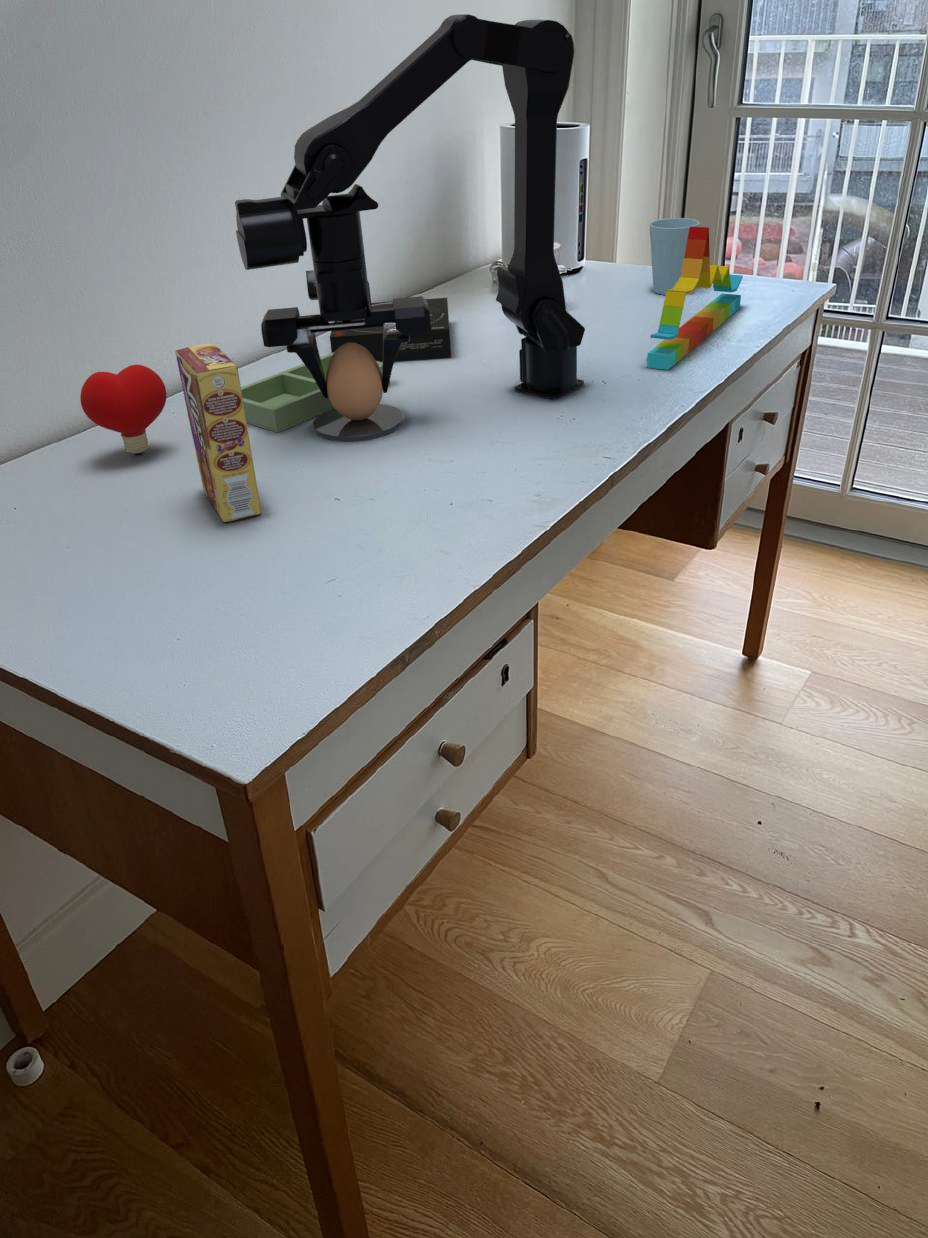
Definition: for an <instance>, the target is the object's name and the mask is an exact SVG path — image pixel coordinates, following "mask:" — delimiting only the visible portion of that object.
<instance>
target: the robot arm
mask: <svg viewBox="0 0 928 1238" xmlns="http://www.w3.org/2000/svg"><path fill="white" fill-rule="evenodd" d="M574 59H575V42H574V38H573V35H572V34H571V33H570V32H569V31H568V29H567V28H566V27H565V25H563V24H562V23H560V22H559V21H557V20H551V19H524V20H520V21H517V22H516V23H515V24H512V23H506V22H505V23H504V22H499V21H494V20H487V19H482V18H478V17H477V16H476V15H473V14H469V13H468V14H465V13H464V14H453V15H449V16H448V17H446V18H445V19H444V20H443V21H442V22H441V24H440V26H439V27H438V28H437V29H436V30H435V31H434V32H433V33H432V34H431V35H430V36H428V37H427V39H425V40H424V41H423V42H422V43H421V44H420V45H419V46H418V47H416V48H415V50H413V51H412V52H411V53H410V54H409V55H408V56H406V58H405V59H403V60H402V61H401V62H400V63H399V64H398V65H396V67H394V68H393V69H392V70H391V71H390V72H389V73H388V74H387V75H386V76H385V77H383V78H382V80H380V81H379V82H378V83H376V85H375V86H374V87H373V88H371V89H370V90H369V91H368V92H367V93H366V94H365V95H363V97H361V98H360V99H359V100H358V101H356V102H355V103H353V104H351V105H350V106H348V107H345V108H344V109H341V110H339V111H338V112H336V113H334V114H331V115H330V116H328V117H326V118H325V119H323V120H321V121H320V122H318V123H317V124H315V125H313V126H311V127H310V128H308V129H307V130H305V131H304V132H303V133H301V134H300V136H299V137H298V139H297V140H296V142H295V145H294V152H293V160H294V166H293V168H292V170H291V172H290V174H289V176H288V178H287V180H286V182H285V184H284V187H283V188H282V190H281V192H280V196H277V197H268V198H261V199H249V198H244V199H237V200H235V201H234V207H235V211H236V214H235V218H236V220H235V221H236V229H237V230H235V235H236V239H237V245H238V249H239V255H240V258H241V261H242V265H243V267H244V269H245V271H250V270H256V269H257V270H259V269H264V268H270V267H271V268H273V267H277V266H284V265H293V264H298V263H299V262H300V257H304V256H305V253H306V252H307V251H308V241H307V233H308V238H309V245H310V246H309V247H310V252H311V253H310V254H311V260H312V267H313V269H312V270H306V271H305V276H306V277H305V278H306V287H307V296H308V299H309V300H310V301H318V308H319V309H318V310H319V314H318V313H317V314H308V315H300V314H301V313H300V310H299V307H298V306H293V307H285V308H284V307H283V308H272V309H271V308H270V309H268V310H267V311H266V312H265V314H264V315H263V318H262V321H261V323H260V328H261V336H262V342H263V343H262V344H263V347H265V348H278V347H286V352H287V353H290V354H291V353H293V354H294V353H295V354H296V355H297V357H299V359H300V360H301V362H302V364H305V366H306V367H307V368H308V370H309V371H310V373H311V375H312V376H313V378H314V380H315V382H316V383H317V385H318V387H319V389H320V391H321V392H322V394H323V396H324V398H328V393H327V386H326V378H325V374H324V370H323V367H322V363H321V359H320V357H321V356H320V352H319V347H318V343H317V338H316V333H322V332H323V333H324V332H331V331H336V330H347V329H359V328H370V327H381V326H383V363H382V384H383V394H388V390H389V386H390V385H389V381H390V382H391V376H392V372H393V367H394V363H395V362H396V361H395V358H396V356H397V353H398V351H399V348H400V345H401V344H402V343H406V342H409V341H410V336H409V335H413V334H424V333H428V332H431V324H430V313H429V307H428V302H427V300H425V299H426V298H425V297H424V296H422V295H421V296H420V295H419V296H409V297H408V296H407V297H398V298H392V301H393V304H394V308H386V309H375V310H371V303H372V296H371V289H370V282H369V280H368V272H367V264H366V255H365V246H364V236H363V229H362V219H361V212H366V211H372V210H377V209H378V208H379V202H378V201H376V200H375V199H373V198H372V197H371V196H369V194H368V193H367V192H366V190H365V189H364V188H363V186H362V185H359V184H358V183H355V182H356V181H357V180H358V178H359V177H360V175H362V173H363V172H364V171H365V169H366V168H367V167H368V166H369V164H370V163H371V162H372V160H373V158H374V156H375V155H376V152H377V151H378V149H379V147H380V145H381V144H382V142H383V141H384V140H385V139H386V138H387V136H388V135H389V134H390V133H391V132H392V131H393V130H395V128H397V127H398V126H399V124H401V123H403V121H404V120H406V119H407V117H409V116H410V115H411V114H412V113H413V112H414V111H415V110H416V109H418V107H420V106H421V105H422V104H423V103H424V102H425V101H426V100H428V99H429V98H430V97H431V96H432V95H433V94H435V93H436V91H438V90H439V89H440V88H441V87H442V86H443V85H444V84H445V83H447V81H448V80H450V79H451V78H452V77H453V76H454V75H455V74H457V73H458V72H459V71H460V70H461V69H462V68H463V67H464V66H465V65H467V63H469V62H470V61H476V62H480V63H485V64H489V65H496V66H500V67H501V69H502V74H503V81H504V87H505V90H506V91H505V92H506V95H507V96H508V99H509V102H510V105H511V106H510V107H511V109H512V112H513V116H514V117H513V118H514V207H513V208H514V211H513V212H514V215H513V216H514V217H513V219H514V221H513V222H514V225H513V227H514V232H513V233H514V235H513V236H514V240H513V241H514V242H513V247H514V248H513V253H512V256H511V258H510V261H509V263H508V266H497V268H496V275H497V276H496V277H497V282H498V283H497V284H498V289H497V294H496V297H495V301H496V302H498V303H499V304H500V306H501V310H502V313H503V315H504V316H505V317H506V318H507V319H508V320H509V321H510V322H511V323H512V324H514V326H515V327H516V330H517V333H518V334H519V335H522V336H524V337H522V338H521V339H520V345H521V348H520V349H519V351H518V353H519V355H518V356H519V357H518V359H519V381H520V382H521V383H519V384H517V385H515V386H514V391H516V392H519V393H525V394H529V395H532V396H536V397H537V396H538V397H541V398H546V399H551V400H558V399H559V398H562V397H563V396H565V395H567V394H569V393H571V392H573V391H575V390H577V389H579V388H581V387H583V386H584V385H585V380H583V379H579V378H578V347H579V346H581V344H582V342H583V338H584V335H585V331H586V329H585V327H584V326H583V325H582V324H581V323H580V321H578V320H577V319H576V318H575V317H574V316H572V315H571V314H570V313H569V312H568V311H567V303H566V296H565V289H564V282H563V281H564V280H563V278H562V275H561V272H560V269H559V265H558V266H557V263H556V260H555V256H554V242H555V222H556V221H555V220H556V219H555V217H556V216H555V215H556V180H557V179H556V177H557V175H556V174H557V137H558V135H557V134H558V117H559V113H560V110H561V108H562V106H563V103H564V101H565V98H566V96H567V92H568V90H569V87H570V83H571V77H572V70H573V65H574ZM352 185H353V186H352ZM351 187H352V188H351ZM350 188H351V189H350ZM348 189H350V190H349V192H347V193H343V192H345V191H346V190H348ZM330 194H332V195H330ZM304 219H306V225H307V230H308V231H307V233H306V227H305V223H304ZM354 319H365V320H357V321H352V320H354ZM334 321H341V322H335V323H334Z"/></svg>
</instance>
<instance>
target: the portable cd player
mask: <svg viewBox="0 0 928 1238" xmlns="http://www.w3.org/2000/svg"><path fill="white" fill-rule="evenodd" d="M424 299H425V300H427V302H428V307H429V313H430V324H431V332H428V333H424V334H413V335H409V336H410V341H409V342H406V343H402V344H401V345H400V348H399V351H398V353H397V356H396V358H395V361H394V362H407V361H408V362H409V361H420V360H421V361H422V360H437V359H451V358H452V348H451V347H452V346H451V333H450V316H449V305H448V302H449V301H448V297H436V298H424ZM386 308H394V304H393V300H392V301H391V300H390V301H379V302H371V310H375V309H386ZM357 320H365V319H354V320H352V321H357ZM335 322H341V321H333V323H335ZM329 342H330V349H331V353H333V352H335V351H336V349H338V348H339V347H340V346H342V345H343V344H345V343H351V342H353V343H357V344H360V345H362V346H363V347H365V348H366V349H367V350H368V351H369V352H370V353H371V354H372V356H373V357H374V359H375V361H379V362H383V326H381V327H370V328H359V329H347V330H336V331H330V334H329Z"/></svg>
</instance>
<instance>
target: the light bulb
mask: <svg viewBox="0 0 928 1238" xmlns="http://www.w3.org/2000/svg"><path fill="white" fill-rule="evenodd" d="M166 388H167V387H166V384H165V383H164V380H163V379H162V378H161V376H160V375H159V373H157V372H156V371H154V370H153V369H152V368H150V367H148V366H146V365H143V364H130V365H129V366H127V367H125V368H123V369H122V370H120V371H119V372H118V373H113V372H109V371H96V372H94V373H91V374H90V375H89V376H88V377H87V378H86V380H85V381H84V383H83V384H82V387H81V389H80V397H79V398H80V406H81V409H82V411H83V413H84V414H85V416H86V417H87V418H88V419H89V420H90V421H91V422H93V424H95V425H97V426H99V427H101V428H104V429H106V430H110V431H113V432H117V433H120V436H121V439H122V441H123V445H124V451H126V452H128V453H130V454H132V455H134V456H137V457H138V456H142V455H143V454H144V453H145V452H146V450H147V449H148V448H149V447H150V443H149V440H148V436H147V430H146V429H147V428H149V426H151V424H152V423H154V422H155V421H156V420H157V419H158V417H159V416H160V415H161V413H162V412H163V411H164V408H165V405H166V403H167V395H168V394H167V389H166Z"/></svg>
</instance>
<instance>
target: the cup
mask: <svg viewBox="0 0 928 1238" xmlns="http://www.w3.org/2000/svg"><path fill="white" fill-rule="evenodd" d="M648 225H649V226H648V227H649V238H650V239H649V240H650V241H649V242H650V255H651V257H650V258H651V270H652V271H651V272H652V273H651V274H652V288H653V292H654V293H655V294H658V295H662V296H666V291H667V290H669V289H673V288H674V287H675V285H676V283H677V282H678V280H679V278H680V276H681V271H682V265H683V260H684V255H685V249H686V244H687V238H688V233H689V228H690V227H700V225H701V223H700V220H697V219H693V218H686V217H671V218H660V219H656V220H653V221H651V222H650V223H649V224H648Z"/></svg>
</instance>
